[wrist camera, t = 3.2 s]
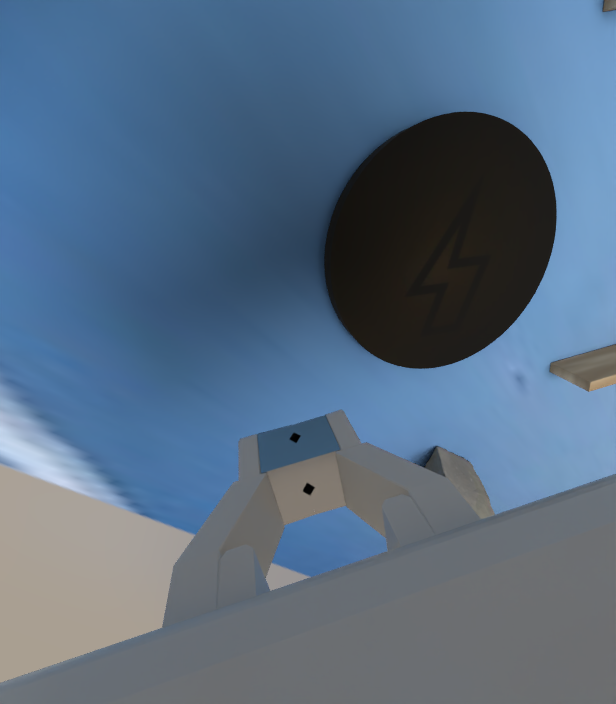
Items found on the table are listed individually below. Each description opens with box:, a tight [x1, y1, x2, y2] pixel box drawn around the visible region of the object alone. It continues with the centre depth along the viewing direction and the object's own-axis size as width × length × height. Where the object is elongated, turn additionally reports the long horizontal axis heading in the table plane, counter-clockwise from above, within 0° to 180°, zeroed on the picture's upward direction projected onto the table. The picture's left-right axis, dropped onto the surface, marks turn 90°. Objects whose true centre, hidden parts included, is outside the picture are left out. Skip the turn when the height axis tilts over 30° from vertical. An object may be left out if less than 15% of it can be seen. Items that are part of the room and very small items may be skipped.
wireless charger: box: [324, 112, 556, 369], centre depth 25 cm, size 18×18×2 cm
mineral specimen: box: [425, 447, 495, 519], centre depth 32 cm, size 7×9×8 cm
